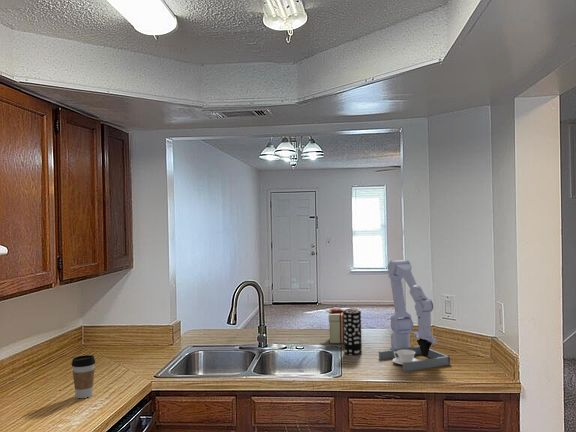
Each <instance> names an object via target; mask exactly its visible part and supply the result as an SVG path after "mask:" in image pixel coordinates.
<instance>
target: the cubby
mask: <svg viewBox="0 0 576 432" xmlns="http://www.w3.org/2000/svg"><path fill="white" fill-rule="evenodd" d="M398 350H412V351H415V355H414V356H416V355H422V353H421V349H420V346H419V345H417V346H410V347H408V348H401V349H393V350H392V349H389V350H386V349H385V350H380V351H378V359H379V360H380V361H381V360H388V359H394V358H396V357H399V356H398V354H397V353H395V355H396V357H395V356H394V352H397V351H398ZM427 357H429V358H426V359H418V360H417V361H411V362H404V363H403V365H402V372H411V371H418V370H419V371H420V370H424V369H431V368H438V367H444V365H445V366H450V365H451V357H450V356H449V355H448V354H447V355H446V354H445V353H442V352H439V351H436V350H434V349H431V348H430V349H429V352H428V356H427Z"/></svg>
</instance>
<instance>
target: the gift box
mask: <svg viewBox="0 0 576 432" xmlns="http://www.w3.org/2000/svg"><path fill="white" fill-rule="evenodd" d="M347 310H358V311H359V309H357V308H355V307H349V308H347V309H342V308H339V307H331V308H329V310H326V311H325V313H327V314H328V322H329V323H328V325H329V344H344V311H347Z"/></svg>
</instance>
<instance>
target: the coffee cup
mask: <svg viewBox="0 0 576 432" xmlns="http://www.w3.org/2000/svg"><path fill="white" fill-rule="evenodd" d="M71 360H72V361H71V367H72V378H73V379H72V380H73V385H74V391H75V393H74V394H75V398H76V399H77V398H86V399H88V398H87V397H89V398H91V397H92V396H93V394H94V393H93V392H94V382H95V381H94V379H95V364H96V358H95V355H91V354H87V355H79V356H78V355H77V356H75V357H73V358H72V359H71Z"/></svg>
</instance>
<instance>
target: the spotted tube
mask: <svg viewBox="0 0 576 432" xmlns="http://www.w3.org/2000/svg"><path fill="white" fill-rule="evenodd" d="M362 343H363V342H362V311H360V310H359V309H358V310H347V311H344V343H343V347H344V348H343V349H344V350H343V351H344V354H345V355H347V356H360V355H362V353H363V352H362V351H363V350H362V347H363V345H362Z"/></svg>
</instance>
